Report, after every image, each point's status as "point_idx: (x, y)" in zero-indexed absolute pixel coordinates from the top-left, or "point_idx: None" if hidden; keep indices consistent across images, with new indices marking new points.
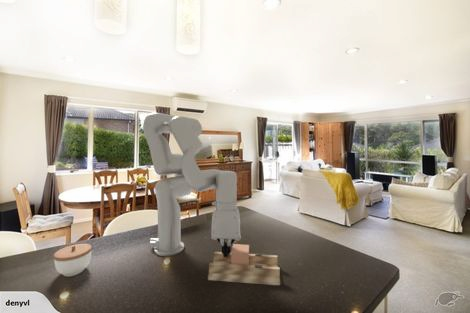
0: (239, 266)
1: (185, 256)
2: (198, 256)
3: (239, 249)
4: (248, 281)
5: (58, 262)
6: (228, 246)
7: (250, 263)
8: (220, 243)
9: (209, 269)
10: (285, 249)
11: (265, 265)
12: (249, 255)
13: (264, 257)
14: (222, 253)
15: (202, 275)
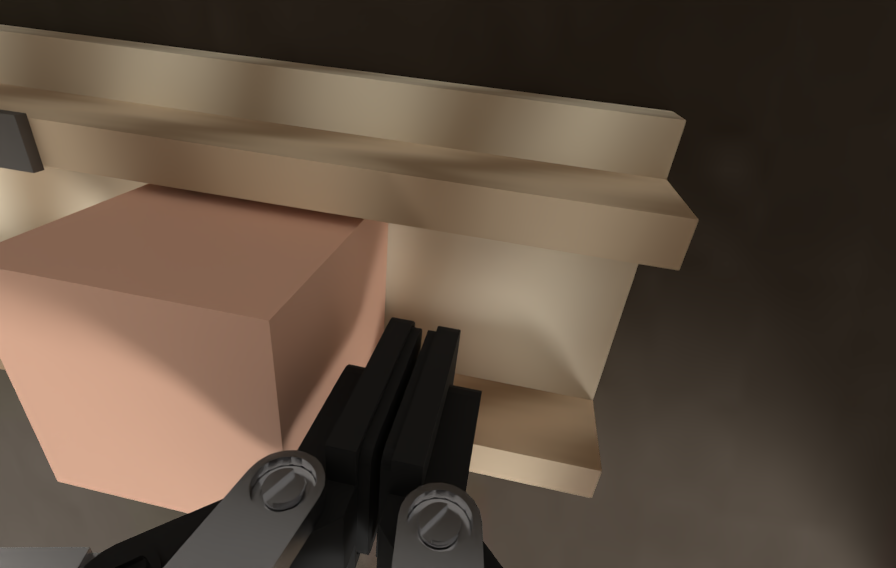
0: (229, 150)
1: (893, 526)
2: (744, 506)
3: (146, 385)
4: (199, 50)
5: None
6: (323, 464)
7: None
8: (488, 558)
9: (672, 192)
10: (38, 482)
11: None
12: None
13: None
14: (472, 390)
15: (735, 201)
